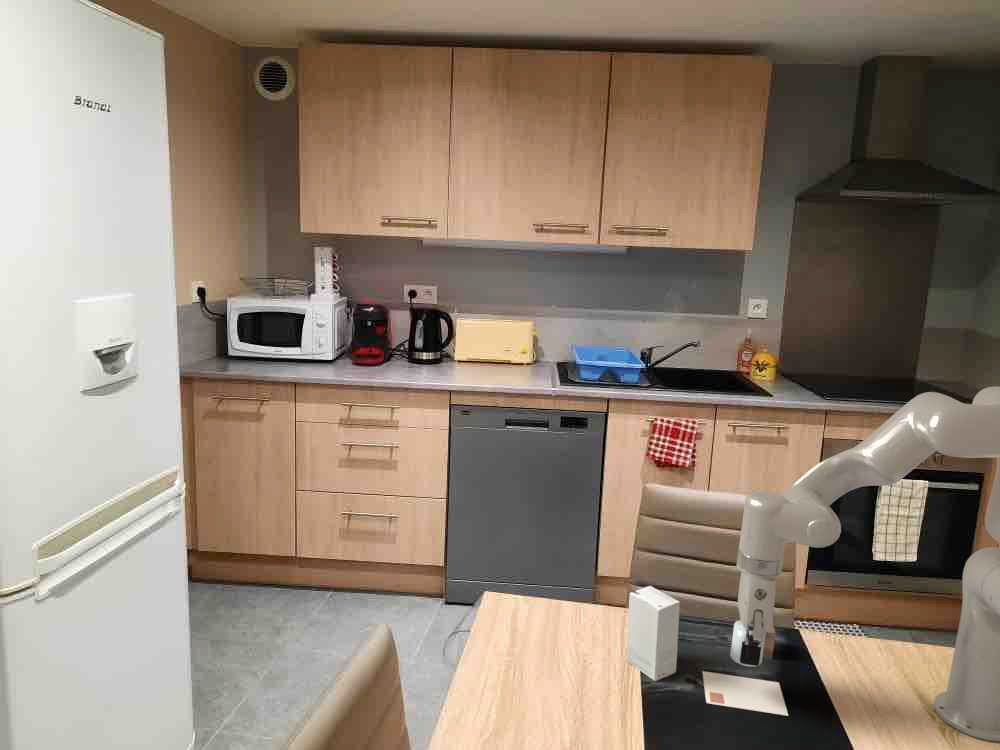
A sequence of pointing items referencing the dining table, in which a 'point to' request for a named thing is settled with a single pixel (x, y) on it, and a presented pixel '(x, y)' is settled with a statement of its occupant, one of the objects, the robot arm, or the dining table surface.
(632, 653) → the skincare box
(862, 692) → the dining table surface
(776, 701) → the letter
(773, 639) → the walnut block
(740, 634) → the grey rounded cylinder
